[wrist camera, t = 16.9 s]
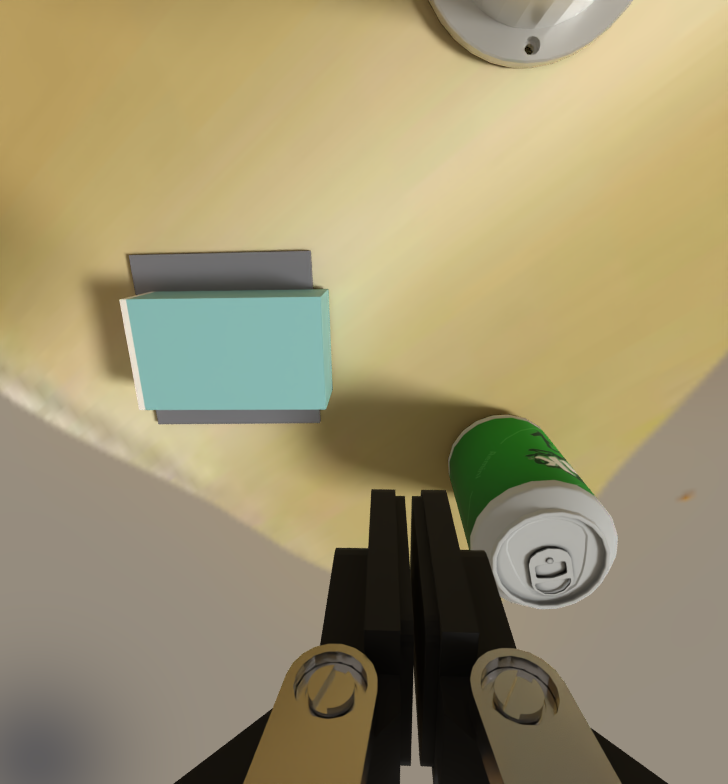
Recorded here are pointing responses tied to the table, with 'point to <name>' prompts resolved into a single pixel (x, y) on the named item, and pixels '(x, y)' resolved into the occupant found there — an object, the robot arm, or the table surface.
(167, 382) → the teal block
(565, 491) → the soda can
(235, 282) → the rubber mat
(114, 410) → the table surface
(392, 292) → the table surface
